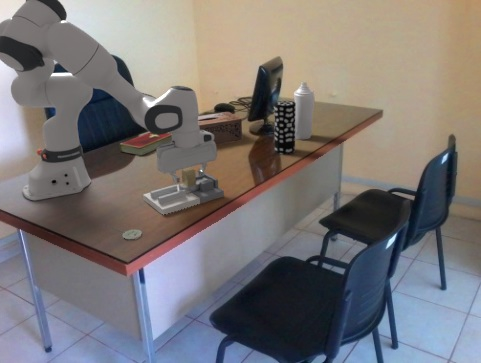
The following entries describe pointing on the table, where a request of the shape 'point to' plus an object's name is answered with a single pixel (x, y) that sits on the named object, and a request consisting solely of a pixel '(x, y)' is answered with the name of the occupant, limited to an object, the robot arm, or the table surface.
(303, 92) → the spray can
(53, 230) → the table surface
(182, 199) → the plate
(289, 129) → the white-spotted black cylinder
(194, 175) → the bolt
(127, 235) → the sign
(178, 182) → the robot arm
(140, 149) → the hardcover book
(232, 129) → the tissue box cover
